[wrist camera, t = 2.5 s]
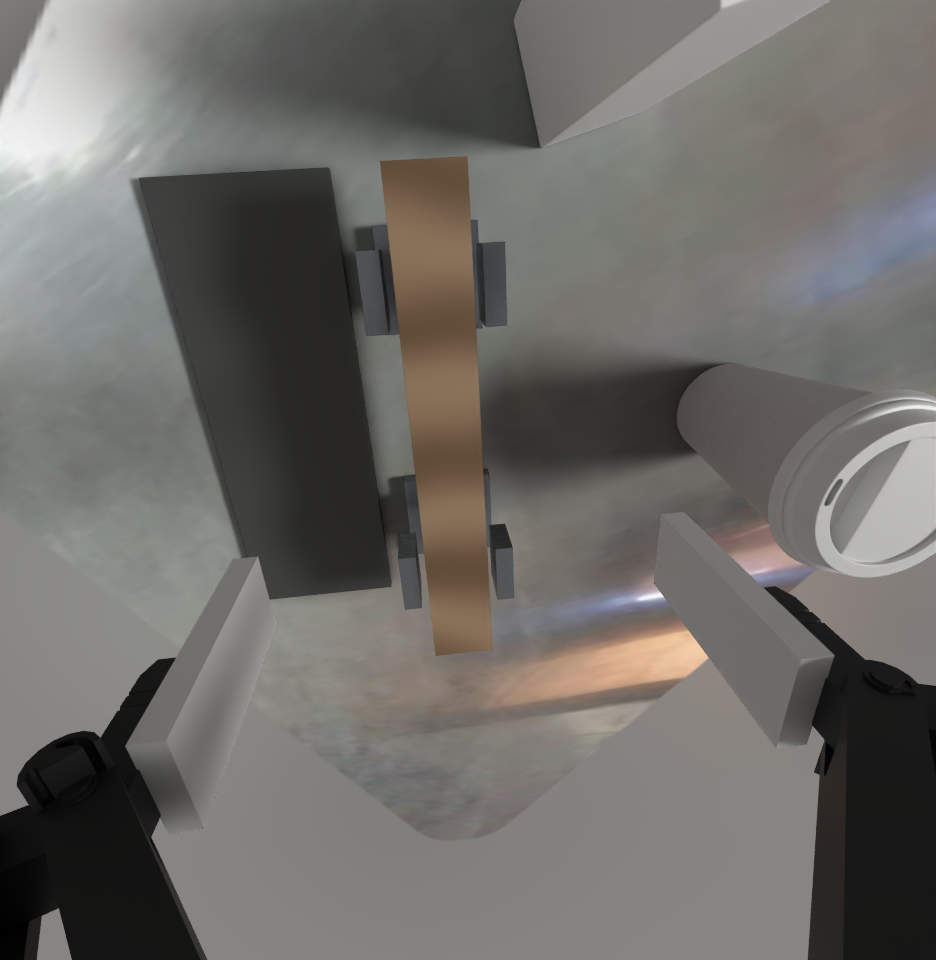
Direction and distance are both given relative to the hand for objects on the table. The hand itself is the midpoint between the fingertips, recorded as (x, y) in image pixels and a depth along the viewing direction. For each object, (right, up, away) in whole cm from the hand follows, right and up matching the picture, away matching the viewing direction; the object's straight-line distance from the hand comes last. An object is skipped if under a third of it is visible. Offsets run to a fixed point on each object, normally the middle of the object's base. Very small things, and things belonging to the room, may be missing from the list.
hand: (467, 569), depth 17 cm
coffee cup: (+18, +8, +20) cm, 28 cm away
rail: (-1, +5, +12) cm, 14 cm away
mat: (-12, +7, +17) cm, 22 cm away
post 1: (-2, +15, +14) cm, 21 cm away
